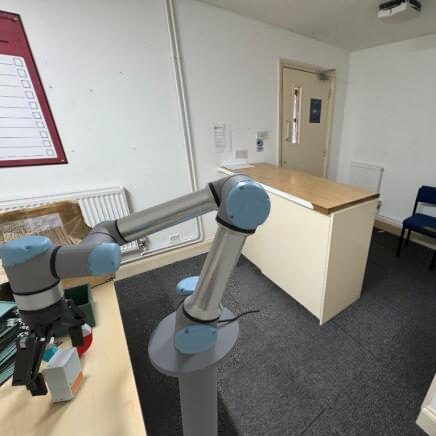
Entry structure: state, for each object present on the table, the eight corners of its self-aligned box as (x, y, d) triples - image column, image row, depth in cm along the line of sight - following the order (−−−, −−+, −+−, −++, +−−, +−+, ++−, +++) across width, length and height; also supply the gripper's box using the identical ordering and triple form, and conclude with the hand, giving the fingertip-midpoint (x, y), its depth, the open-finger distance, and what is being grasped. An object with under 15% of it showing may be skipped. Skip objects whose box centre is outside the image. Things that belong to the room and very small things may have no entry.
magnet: (43, 371, 68) (34, 345, 64) (45, 364, 70) (36, 338, 66) (96, 351, 75) (90, 327, 72) (95, 345, 77) (90, 321, 74)
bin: (95, 325, 84) (90, 303, 81) (56, 338, 78) (49, 315, 75) (94, 303, 94) (89, 282, 91) (59, 313, 88) (52, 291, 84)
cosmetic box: (72, 399, 62) (62, 367, 58) (52, 403, 61) (41, 370, 57) (85, 377, 67) (76, 346, 63) (67, 380, 66) (57, 348, 62)
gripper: (62, 271, 65) (77, 330, 72) (-40, 348, 42) (-4, 424, 49) (93, 271, 66) (104, 329, 73) (11, 345, 43) (39, 419, 50)
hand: (61, 367), depth 61 cm, fingers open, 13 cm apart
